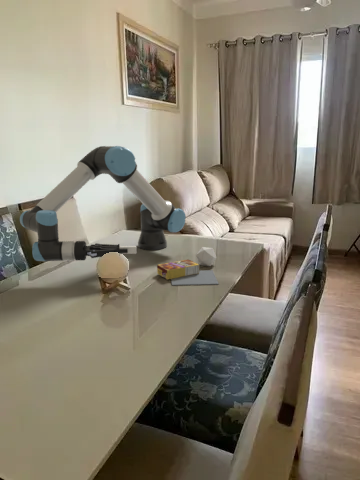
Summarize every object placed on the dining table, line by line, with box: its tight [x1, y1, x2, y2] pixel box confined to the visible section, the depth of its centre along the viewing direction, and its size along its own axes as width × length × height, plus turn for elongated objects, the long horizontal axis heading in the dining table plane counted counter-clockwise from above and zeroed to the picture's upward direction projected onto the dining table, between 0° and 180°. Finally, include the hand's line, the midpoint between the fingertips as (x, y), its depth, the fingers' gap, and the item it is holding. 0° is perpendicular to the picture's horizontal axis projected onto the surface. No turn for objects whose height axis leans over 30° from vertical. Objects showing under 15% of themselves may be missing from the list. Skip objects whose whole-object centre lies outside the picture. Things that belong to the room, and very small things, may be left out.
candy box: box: [156, 258, 200, 280], centre depth 160 cm, size 9×4×15 cm
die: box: [195, 246, 217, 267], centre depth 172 cm, size 8×9×10 cm
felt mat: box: [170, 269, 219, 286], centre depth 156 cm, size 16×18×1 cm
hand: (136, 249), depth 152 cm, fingers closed
